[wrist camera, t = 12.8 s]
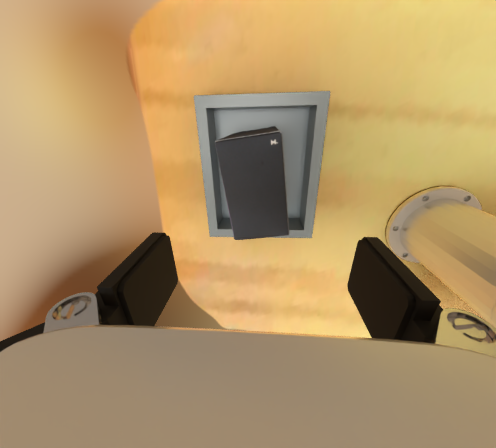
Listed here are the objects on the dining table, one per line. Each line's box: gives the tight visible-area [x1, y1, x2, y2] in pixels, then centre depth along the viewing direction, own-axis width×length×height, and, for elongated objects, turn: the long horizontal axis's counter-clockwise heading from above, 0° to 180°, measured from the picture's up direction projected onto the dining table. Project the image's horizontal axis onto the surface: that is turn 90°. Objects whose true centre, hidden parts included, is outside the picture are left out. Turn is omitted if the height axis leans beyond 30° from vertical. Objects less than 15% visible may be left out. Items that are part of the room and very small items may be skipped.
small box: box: [215, 126, 289, 240], centre depth 25 cm, size 11×6×10 cm, turn 9°
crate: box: [194, 91, 330, 238], centre depth 28 cm, size 14×17×5 cm
